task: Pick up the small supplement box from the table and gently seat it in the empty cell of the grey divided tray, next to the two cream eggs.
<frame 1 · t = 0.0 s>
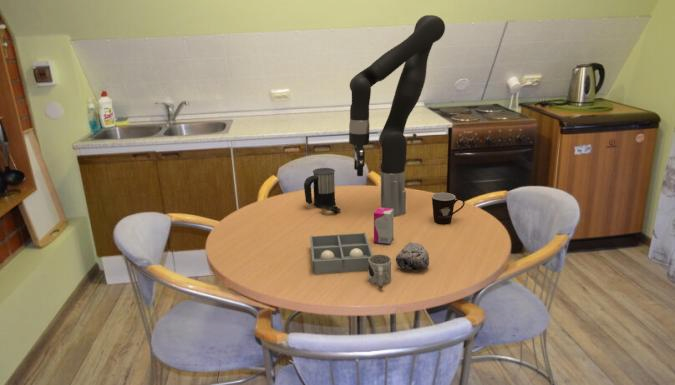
hand: (358, 172, 197), 17 cm above the table, tool pointing down, fingers open, 8 cm apart
egg front left: (356, 261, 163), point 1 cm above the table, touching grey divided tray
pumice stone: (410, 267, 160), on the table
coffee mug: (446, 222, 193), on the table
mug: (380, 282, 152), on the table
supplement box: (383, 241, 179), on the table
grey divided tray: (340, 258, 167), on the table
egg front right: (327, 263, 162), point 1 cm above the table, touching grey divided tray
milk frother: (327, 208, 211), on the table
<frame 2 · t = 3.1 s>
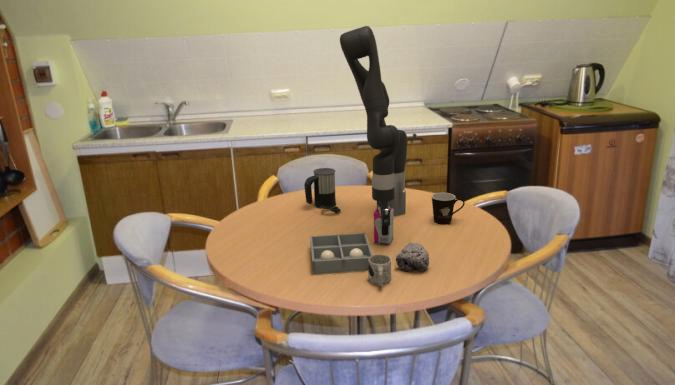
hand: (383, 230, 178), 4 cm above the table, tool pointing down, fingers closed on supplement box, 7 cm apart
supplement box: (383, 241, 179), on the table, touching gripper
everything else where it was.
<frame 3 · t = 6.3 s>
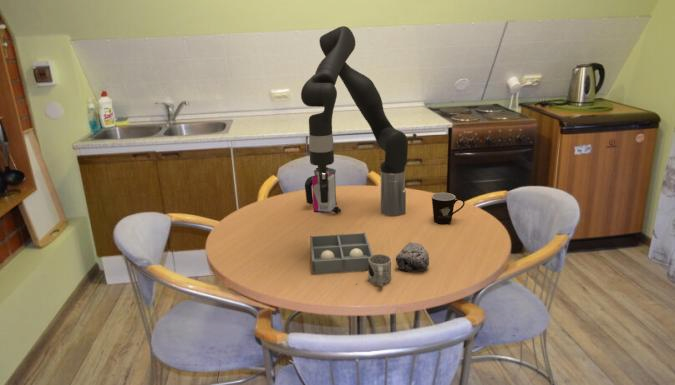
hand: (323, 198, 165), 19 cm above the table, tool pointing down, fingers closed on supplement box, 7 cm apart
supplement box: (324, 210, 166), point 15 cm above the table, touching gripper
everything else where it was.
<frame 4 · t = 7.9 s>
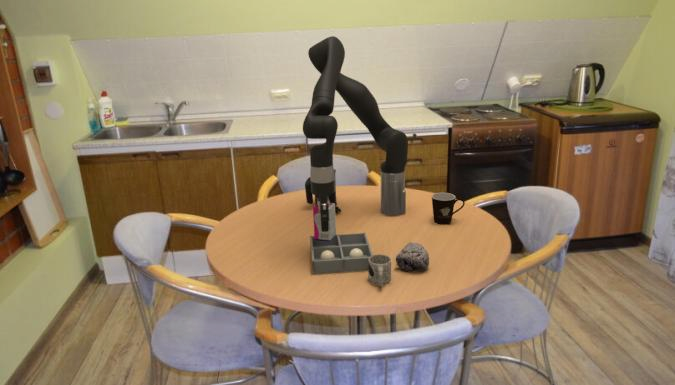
hand: (324, 226, 168), 10 cm above the table, tool pointing down, fingers closed on supplement box, 7 cm apart
supplement box: (325, 238, 170), point 5 cm above the table, touching gripper
everything else where it was.
when the fingers open (6 cm above the table, at t = 9.3 s): supplement box moves 1 cm, resting on grey divided tray.
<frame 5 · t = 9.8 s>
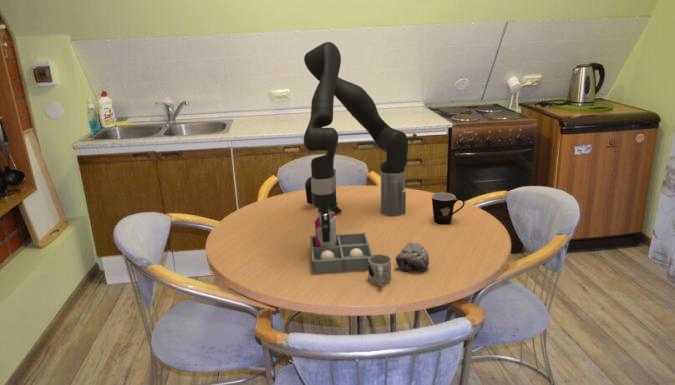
hand: (325, 236, 169), 6 cm above the table, tool pointing down, fingers open, 8 cm apart
supplement box: (326, 251, 171), point 1 cm above the table, touching grey divided tray
everything else where it was.
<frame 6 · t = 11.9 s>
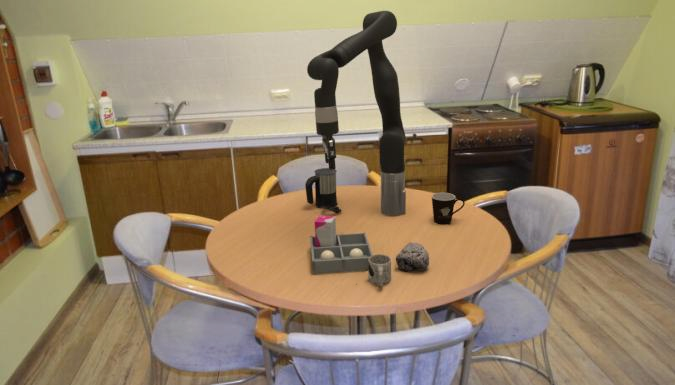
hand: (330, 166, 178), 25 cm above the table, tool pointing down, fingers open, 8 cm apart
nothing on the table moved.
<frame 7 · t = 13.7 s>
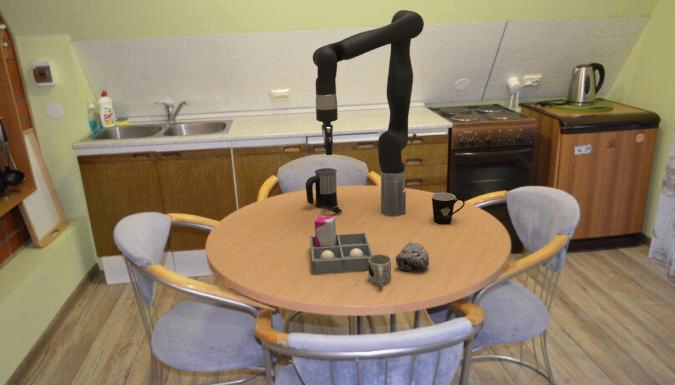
hand: (328, 151, 185), 28 cm above the table, tool pointing down, fingers open, 8 cm apart
nothing on the table moved.
at the end: supplement box inside the target area on the grey divided tray (0.4 cm from its centre), point 0.6 cm above the grey divided tray's base; supplement box tilted 0°; the gripper is holding nothing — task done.
